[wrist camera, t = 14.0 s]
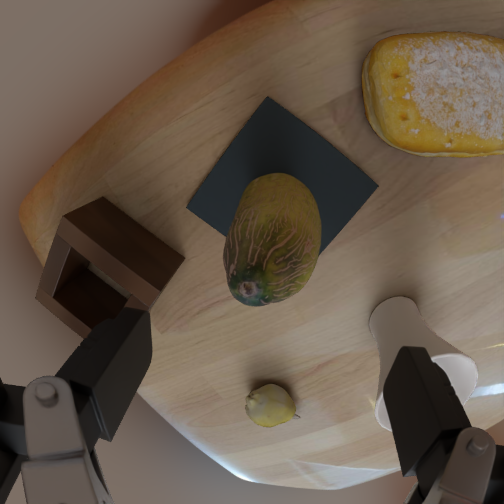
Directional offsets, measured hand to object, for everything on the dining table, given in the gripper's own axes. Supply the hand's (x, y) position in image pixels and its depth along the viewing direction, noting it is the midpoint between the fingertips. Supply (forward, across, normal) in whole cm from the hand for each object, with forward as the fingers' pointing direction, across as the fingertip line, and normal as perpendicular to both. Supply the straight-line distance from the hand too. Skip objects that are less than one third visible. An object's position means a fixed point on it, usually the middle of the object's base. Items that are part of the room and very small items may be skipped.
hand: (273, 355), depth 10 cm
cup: (+24, -16, +13) cm, 32 cm away
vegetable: (+24, 0, 0) cm, 24 cm away
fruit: (+24, -4, +28) cm, 37 cm away
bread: (+24, -19, -15) cm, 34 cm away
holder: (+24, +18, +11) cm, 32 cm away
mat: (+24, 0, 0) cm, 24 cm away
